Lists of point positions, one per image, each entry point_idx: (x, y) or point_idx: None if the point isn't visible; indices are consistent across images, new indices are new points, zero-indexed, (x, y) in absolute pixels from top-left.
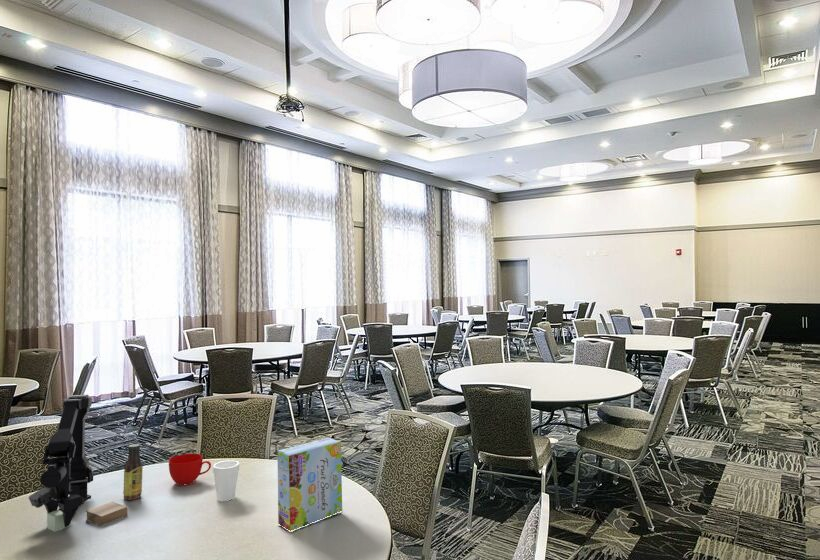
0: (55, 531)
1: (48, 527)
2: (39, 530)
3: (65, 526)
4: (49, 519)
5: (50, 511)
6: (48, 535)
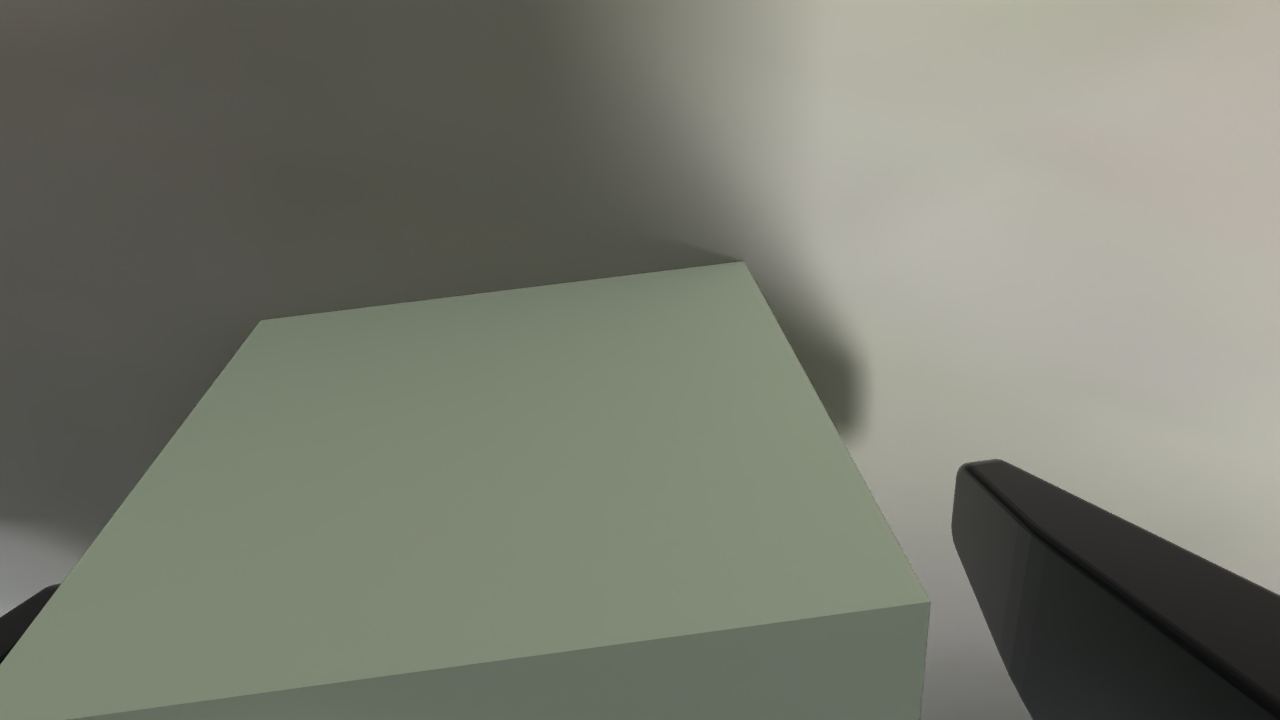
0: (264, 334)
1: (664, 288)
2: (781, 45)
3: (36, 599)
4: (630, 454)
5: (1182, 717)
6: (59, 88)
